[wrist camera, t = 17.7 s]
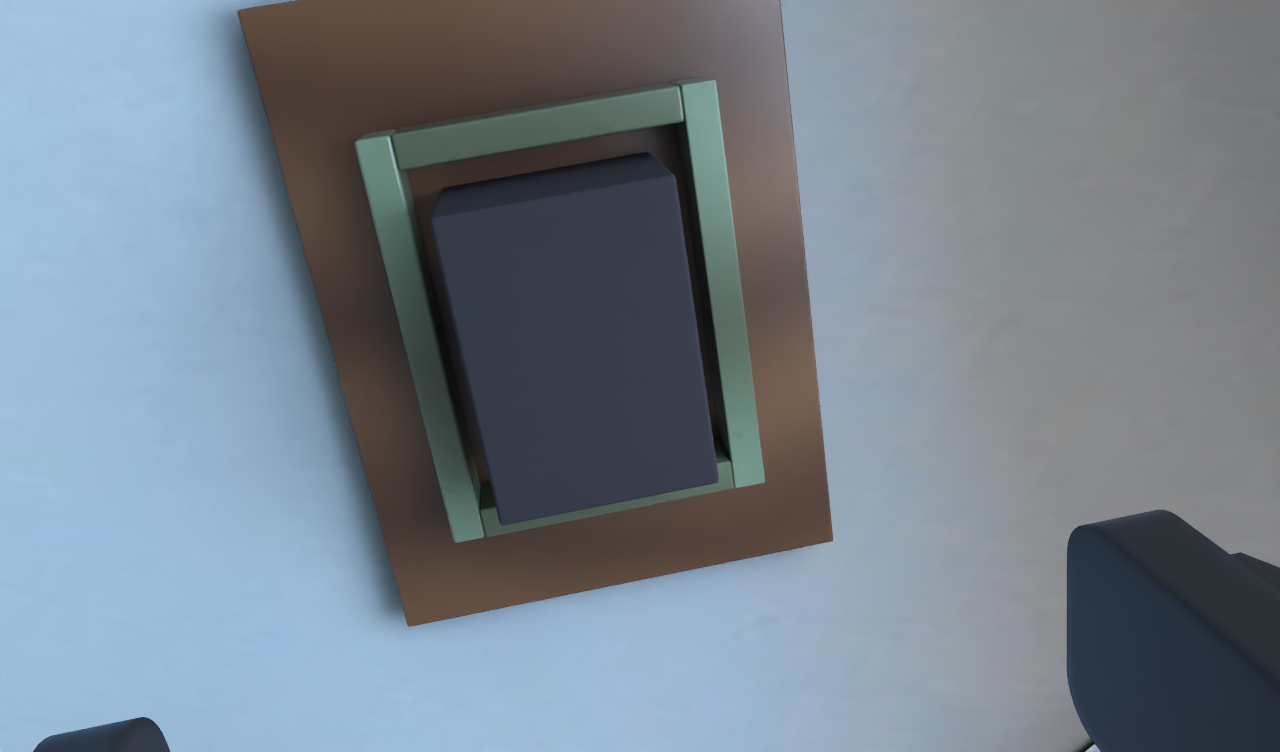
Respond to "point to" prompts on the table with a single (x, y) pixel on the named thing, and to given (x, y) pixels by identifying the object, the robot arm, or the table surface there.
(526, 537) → the back board
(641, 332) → the black box
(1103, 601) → the robot arm
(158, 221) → the table surface
